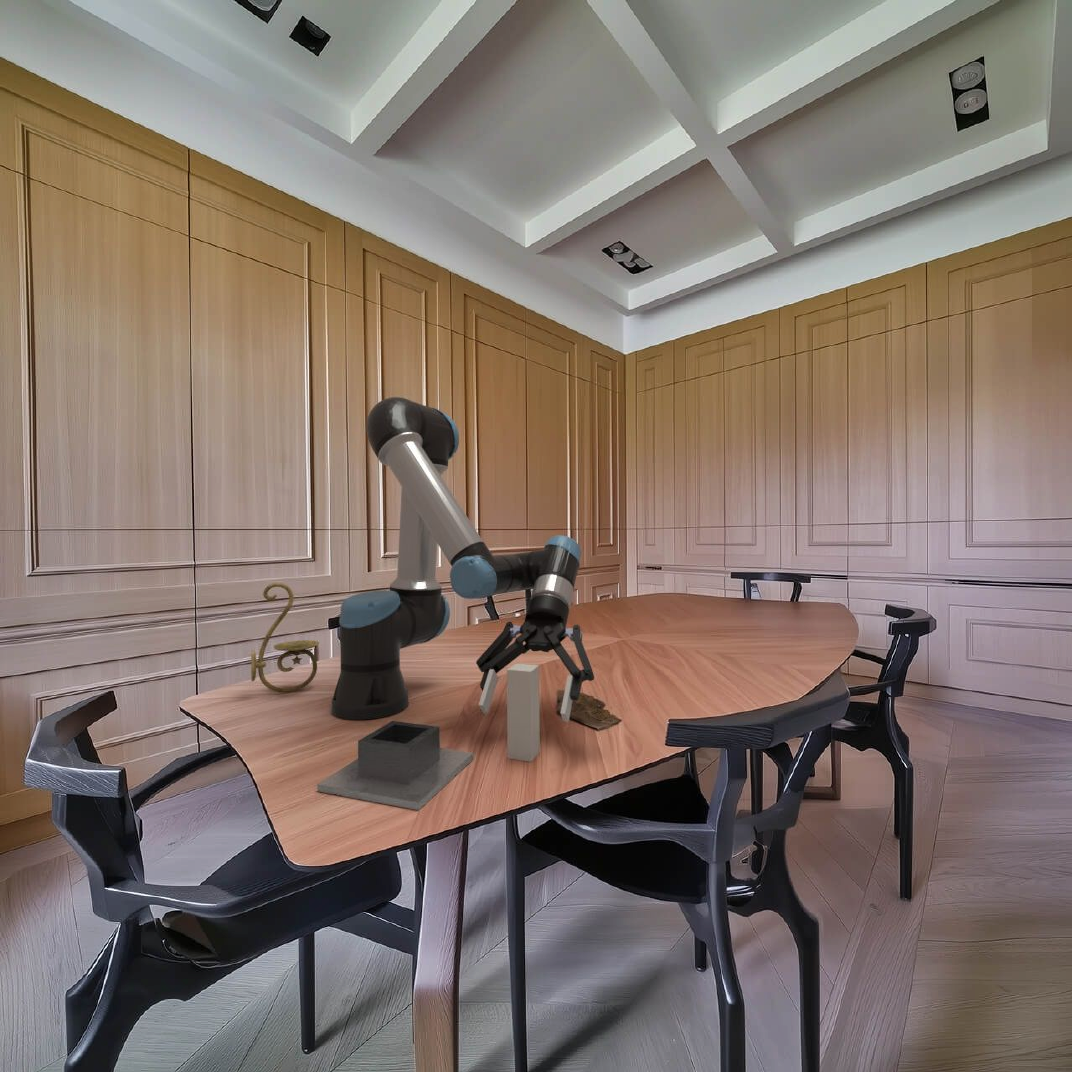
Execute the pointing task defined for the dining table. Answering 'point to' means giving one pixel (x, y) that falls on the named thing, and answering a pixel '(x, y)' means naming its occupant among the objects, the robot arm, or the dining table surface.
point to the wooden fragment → (589, 711)
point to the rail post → (523, 712)
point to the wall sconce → (283, 648)
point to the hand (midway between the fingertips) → (522, 713)
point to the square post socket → (398, 767)
